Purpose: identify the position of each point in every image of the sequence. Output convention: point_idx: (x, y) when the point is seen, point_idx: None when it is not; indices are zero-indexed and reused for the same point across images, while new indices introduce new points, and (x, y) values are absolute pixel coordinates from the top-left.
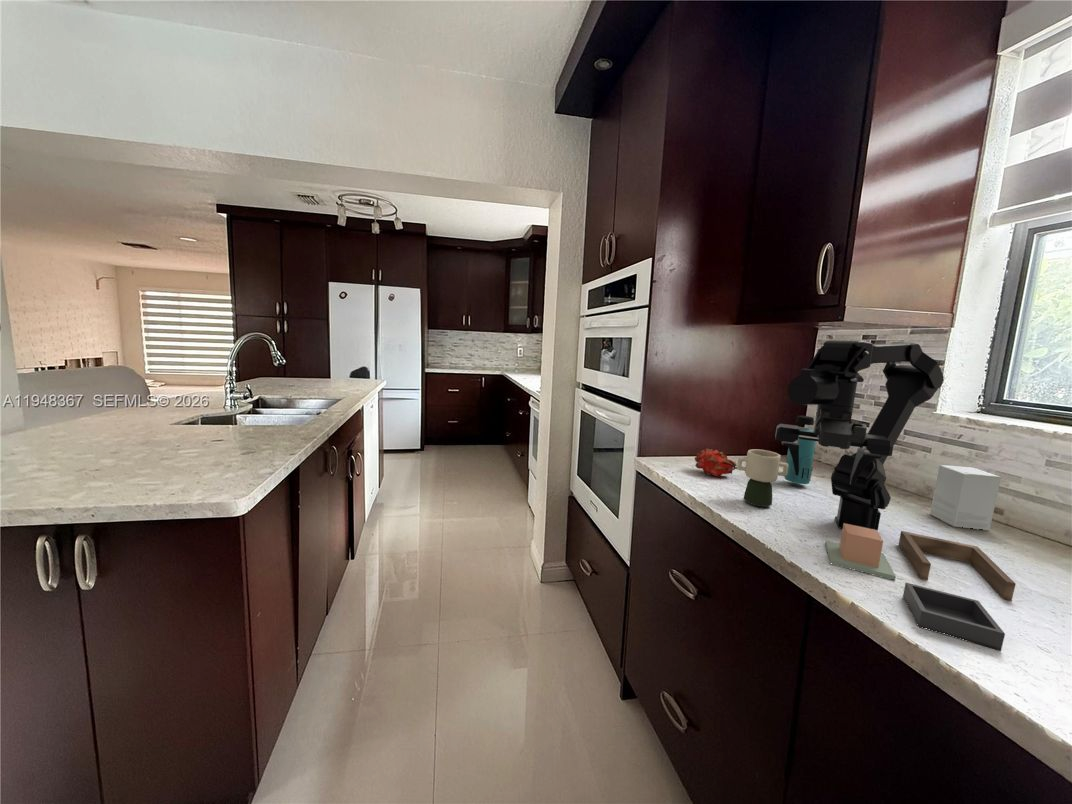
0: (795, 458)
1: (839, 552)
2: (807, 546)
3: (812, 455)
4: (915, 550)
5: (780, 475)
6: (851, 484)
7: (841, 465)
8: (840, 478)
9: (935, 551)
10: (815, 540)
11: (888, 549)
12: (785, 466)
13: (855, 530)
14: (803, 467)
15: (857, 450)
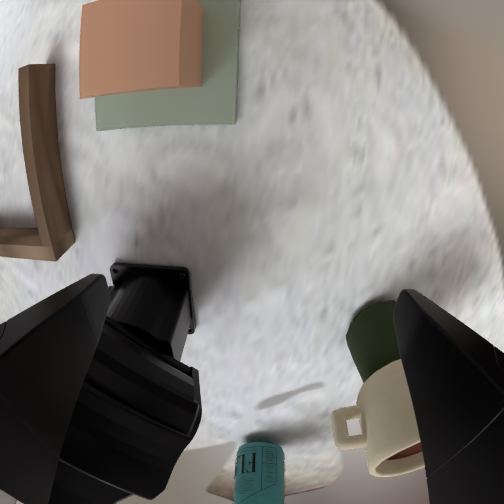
0: (493, 360)
1: (206, 50)
2: (291, 72)
3: (237, 499)
4: (30, 134)
5: (351, 406)
6: (98, 275)
7: (162, 453)
8: (167, 397)
9: (24, 231)
10: (261, 135)
11: (89, 197)
12: (345, 436)
13: (147, 32)
14: (253, 473)
15: (45, 500)
